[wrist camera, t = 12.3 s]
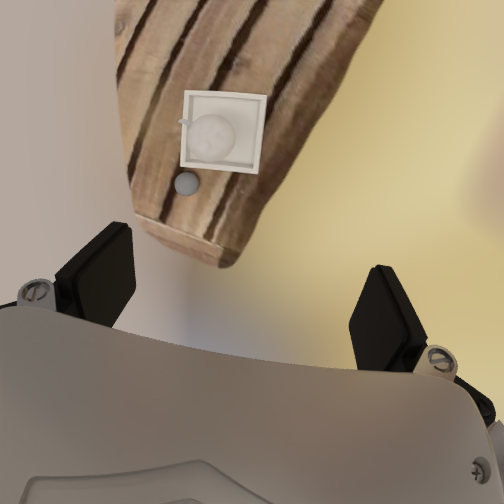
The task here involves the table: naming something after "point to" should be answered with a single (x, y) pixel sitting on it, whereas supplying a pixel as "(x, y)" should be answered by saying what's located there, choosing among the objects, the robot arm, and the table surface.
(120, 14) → the table surface
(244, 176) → the table surface
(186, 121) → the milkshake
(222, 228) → the table surface
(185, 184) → the ball
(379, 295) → the robot arm
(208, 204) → the table surface
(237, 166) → the tray
